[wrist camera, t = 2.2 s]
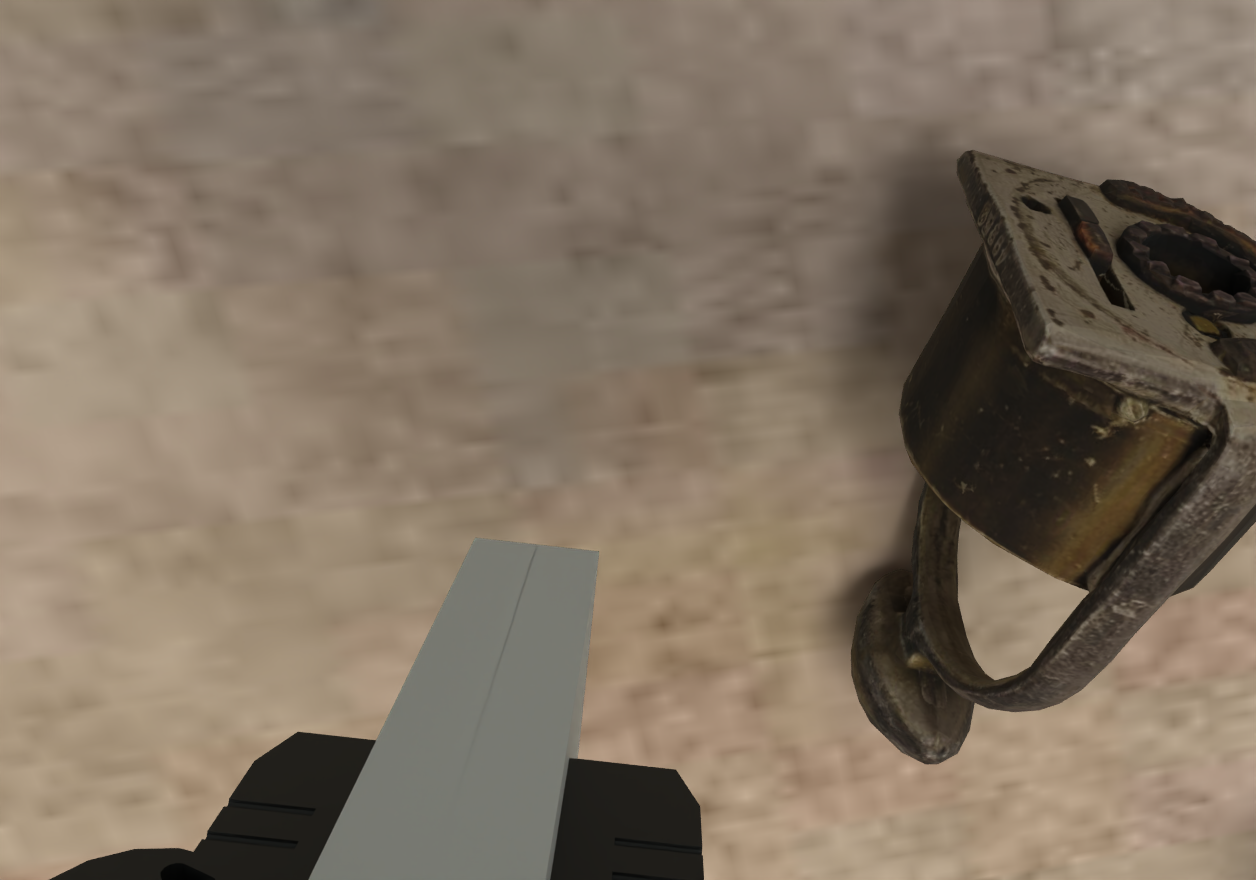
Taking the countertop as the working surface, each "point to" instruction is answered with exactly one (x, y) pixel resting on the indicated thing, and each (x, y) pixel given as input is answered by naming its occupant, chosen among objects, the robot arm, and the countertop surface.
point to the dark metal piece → (1066, 437)
